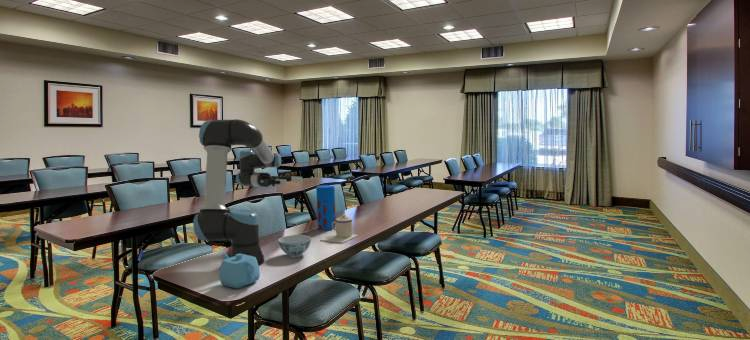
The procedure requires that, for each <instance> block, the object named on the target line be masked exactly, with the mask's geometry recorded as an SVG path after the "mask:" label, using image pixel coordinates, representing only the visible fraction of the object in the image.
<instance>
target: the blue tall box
mask: <svg viewBox="0 0 750 340" xmlns="http://www.w3.org/2000/svg"><path fill="white" fill-rule="evenodd" d="M315 189H316V192H315V193H316V194H315V195H316V219H317V220H316V221H317V222H316V223H317V230H319V231H331V229H333V228H332V223H333V222H336V221H335V220H336V219H337V218H336V215H337V214H336V188H335V185H332V184H331V185H330V184H329V185H328V184H326V185H317V186H316V188H315ZM334 228H335V229H336V223H334Z"/></svg>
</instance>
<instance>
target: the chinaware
mask: <svg viewBox="0 0 750 340" xmlns="http://www.w3.org/2000/svg"><path fill="white" fill-rule="evenodd" d="M277 241H278V245H279V247H280V249H281V251H282V252H283V253H285V254H286V255H287V256H288V257H289V258H300V257H302V256H304V253H305V252H306V251H307V250H308V249H309V247H310V245H311V242H312V237H311V236H309V235H305V234H292V235H286V236H282V237H280V238H278V240H277Z"/></svg>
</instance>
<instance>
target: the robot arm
mask: <svg viewBox="0 0 750 340" xmlns="http://www.w3.org/2000/svg"><path fill="white" fill-rule="evenodd" d="M198 138H199V143H200V145H202V146H203V149H204V150H205V152H206V165H205V167H206V169H205V180H204V181H205V182H204V183H205V185H204V199H203V200H204V201H203V206H202V207H201V208H199V213H197V214H195V215H194V217H193V231H194V234H195V236H196V237H197V239H198V240H200V241H208V242H212V241H230V242H231V243H230V244H231V248H230V252H229V255H228V257H229V258H230V257H234V256H235V255H236V254H244V255H249V256H253V257H256V260H257V262H258V266H260V265H263V264H264V263H265V255H264V254H263V251H262V248H261V245H260V230H259V229H260V227H259V226H260V225H259V224H260V222H259V215H258V213H257V212H256V211H254V210H251V209H243V208H242V209H241V208H239V209H231V210H230V211H229V208H227V207H226V206H225V205H226V191H227V190H226V187H227V186H226V185H227V171H228V170H227V169H228V154H229V153H230V152H231V151H232V146H245V147H246V148H247V149H248V148H249V150H240V151H239V160H238V161H239V172H238V173H237V174H236V176H235V182H236V184H237V185H239V186H243V187H256V188H259V187H263V188H266V187H270V186H271V185H272V186H271V187H276V186H287V184H288V182H292V183H293V182H295V183H302V182H303V176H294V175H293V174H292V175H287V176H280V175H279V176H278V175H276V176H275V175H271V174H270V172H255V168H257V169H258V168H279V167H280V166H281V165H282V157H281V154H280V153H274V152H273V151H272V149H271V148H270V147H269V146H268V144H267V142H266V141H265V140H264V138H263V134H262V132H261V131H260V130H259V129H258V127H257V126H255V125H253V124H252V123H251V122H248V121H247V120H243V119H211V120H205V121H204V122H203V123H202V124H201V125H200V128H199V133H198Z"/></svg>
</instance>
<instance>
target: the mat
mask: <svg viewBox="0 0 750 340" xmlns="http://www.w3.org/2000/svg"><path fill="white" fill-rule="evenodd" d="M358 236H359V235H358V234H354V233H352V236H350V237H345V238H341V237H337V236H336V232H334V233H331V234H330V235H327V236H325V237H323V238H321V239H319V240H320V242H329V243H337V244H345V243H348V242H349V241H351V240H353V239H355V238H357V237H358Z"/></svg>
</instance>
